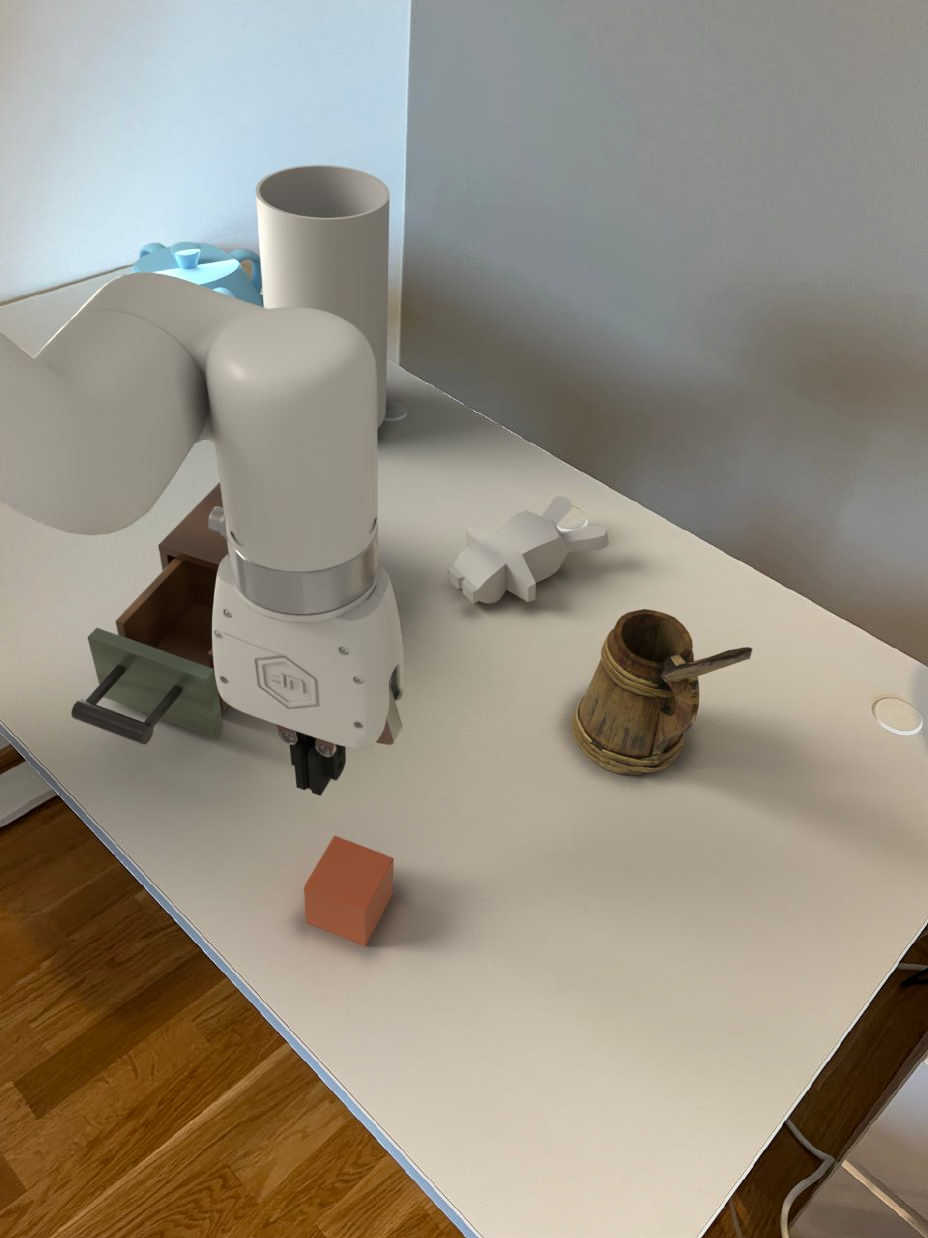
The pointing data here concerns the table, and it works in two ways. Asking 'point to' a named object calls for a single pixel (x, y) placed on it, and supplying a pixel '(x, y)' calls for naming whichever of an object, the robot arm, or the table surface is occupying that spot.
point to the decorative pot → (205, 268)
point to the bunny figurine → (520, 553)
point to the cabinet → (196, 536)
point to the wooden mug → (643, 693)
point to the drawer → (159, 659)
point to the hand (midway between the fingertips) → (319, 774)
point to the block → (349, 890)
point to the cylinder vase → (328, 249)
